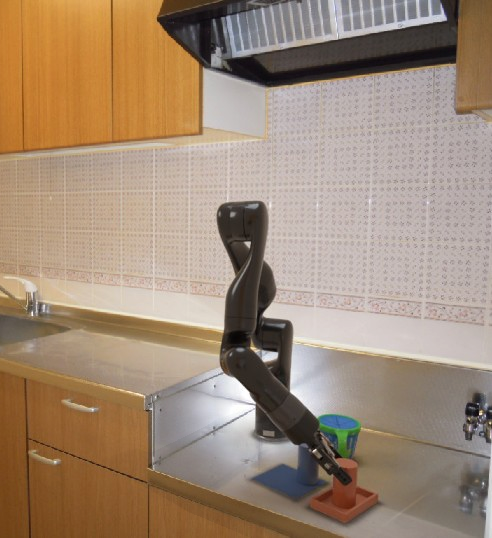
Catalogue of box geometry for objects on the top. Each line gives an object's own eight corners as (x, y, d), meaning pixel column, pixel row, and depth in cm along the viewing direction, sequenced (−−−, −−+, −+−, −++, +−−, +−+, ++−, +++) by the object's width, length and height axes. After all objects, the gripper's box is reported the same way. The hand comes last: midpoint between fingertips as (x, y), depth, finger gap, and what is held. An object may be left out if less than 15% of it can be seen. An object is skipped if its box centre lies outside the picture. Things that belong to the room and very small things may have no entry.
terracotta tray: (342, 488, 130) (343, 479, 130) (377, 502, 124) (378, 493, 123) (309, 508, 121) (310, 498, 121) (345, 524, 115) (346, 514, 115)
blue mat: (282, 465, 141) (282, 464, 141) (326, 483, 132) (326, 481, 132) (251, 479, 134) (252, 478, 134) (295, 500, 125) (295, 498, 125)
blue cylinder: (304, 474, 136) (305, 438, 135) (322, 481, 132) (323, 444, 131) (292, 480, 133) (293, 443, 132) (310, 488, 129) (312, 450, 128)
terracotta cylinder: (339, 495, 126) (341, 456, 125) (360, 503, 122) (362, 463, 121) (327, 502, 123) (329, 462, 122) (348, 511, 119) (350, 470, 118)
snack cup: (361, 476, 135) (363, 435, 134) (314, 470, 139) (316, 430, 138) (357, 450, 150) (358, 412, 149) (315, 445, 153) (316, 408, 152)
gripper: (307, 418, 115) (365, 478, 114) (302, 395, 129) (354, 448, 128) (280, 441, 117) (336, 500, 116) (277, 416, 131) (328, 468, 130)
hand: (345, 473), depth 122 cm, fingers open, 8 cm apart
